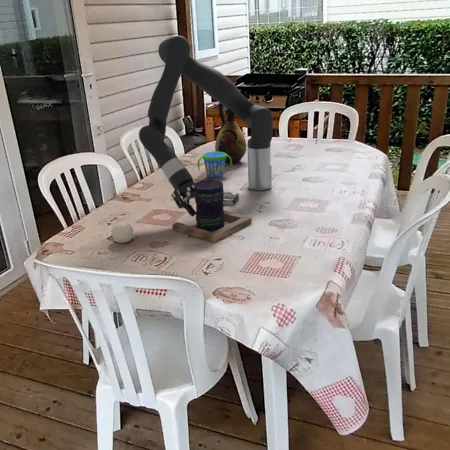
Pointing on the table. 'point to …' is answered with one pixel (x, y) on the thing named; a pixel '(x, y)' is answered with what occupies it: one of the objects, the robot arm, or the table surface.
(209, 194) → the dark blue ridged cylinder
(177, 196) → the robot arm
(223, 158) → the snack cup
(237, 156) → the ceramic jug
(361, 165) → the table surface
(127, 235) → the white egg
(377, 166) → the table surface
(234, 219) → the walnut bay
